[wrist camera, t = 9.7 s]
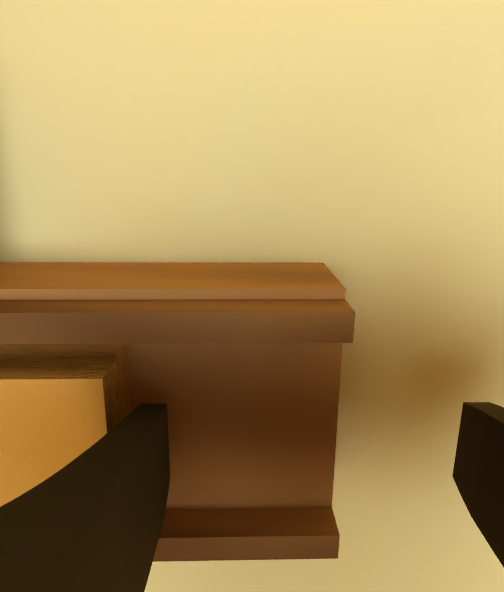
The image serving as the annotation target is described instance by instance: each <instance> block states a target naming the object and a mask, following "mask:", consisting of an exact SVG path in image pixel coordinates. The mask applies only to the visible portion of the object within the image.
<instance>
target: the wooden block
mask: <svg viewBox="0 0 504 592" xmlns="http://www.w3.org/2000/svg"><path fill="white" fill-rule="evenodd" d="M130 413H131V410H130V395H129V381H128V367H127V352H126V344H0V507H1V506H2V505H4V504H6V503H8V502H10V501H12V500H14V499H15V498H17V497H19V496H20V495H22V494H24V493H25V492H27V491H29V490H30V489H32V488H33V487H35V486H37V485H38V484H40V483H41V482H43V481H44V480H46V479H48V478H49V477H51V476H52V475H53V474H55V473H56V472H58V471H59V470H61V469H62V468H63V467H65V466H66V465H67V464H69V463H70V462H71V461H73V460H74V459H75V458H77V457H78V456H79V455H81V454H82V453H83V452H84V451H86V450H87V449H88V448H90V447H91V446H92V445H94V444H95V443H96V442H97V441H98V440H100V439H101V438H102V437H103V436H104V435H105V434H107V433H108V432H109V431H110V430H111V429H113V428H114V427H115V426H116V425H117V424H118V423H119V422H121V421H122V420H123V419H124V418H125V417H126V416H127V415H128V414H130Z"/></svg>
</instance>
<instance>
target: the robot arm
mask: <svg viewBox="0 0 504 592" xmlns="http://www.w3.org/2000/svg"><path fill="white" fill-rule="evenodd" d="M453 478H454V481H455V483H456V485H457V487H458V490H459V492H460V494H461V496H462V499H463V501H464V503H465V505H466V507H467V509H468V511H469V513H470V515H471V517H472V518H473V520H474V522H475V523H476V525H477V526H478V528H479V530H480V531H481V533H482V534H483V536H484V537H485V539H486V541H487V542H488V544H489V545H490V547H491V548H492V550H493V551H494V553H495V555H496V556H497V558H498V559H499V561H500V562H501V564H502V565H503V567H504V408H503V407H501V406H498V405H495V404H492V403H489V402H463V409H462V415H461V422H460V429H459V436H458V443H457V449H456V456H455V463H454V470H453ZM169 484H170V462H169V439H168V416H167V404H140V405H139V406H138V407H136V408H135V409H134V410H133V411H132V412H131V413H130V414H128V415H127V416H126V417H125V418H124V419H123V420H122V421H121V422H119V423H118V424H117V425H116V426H115V427H114V428H113V429H111V430H110V431H109V432H108V433H107V434H105V435H104V436H103V437H102V438H101V439H100V440H98V441H97V442H96V443H95V444H94V445H92V446H91V447H90V448H88V449H87V450H86V451H84V452H83V453H82V454H81V455H79V456H78V457H77V458H75V459H74V460H73V461H71V462H70V463H69V464H67V465H66V466H65V467H63V468H62V469H61V470H59V471H58V472H56V473H55V474H53V475H52V476H51V477H49V478H48V479H46V480H44V481H43V482H41V483H40V484H38V485H37V486H35V487H33V488H32V489H30V490H29V491H27V492H25V493H24V494H22V495H20V496H19V497H17V498H15V499H14V500H12V501H10V502H8V503H6V504H4V505H2V506H1V507H0V592H144V590H145V587H146V583H147V580H148V576H149V572H150V569H151V565H152V562H153V558H154V555H155V551H156V547H157V544H158V540H159V536H160V533H161V529H162V525H163V521H164V517H165V511H166V504H167V498H168V491H169Z"/></svg>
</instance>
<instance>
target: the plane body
mask: <svg viewBox="0 0 504 592" xmlns="http://www.w3.org/2000/svg"><path fill="white" fill-rule="evenodd" d="M354 317H355V312H354V310H353V309H352V308H351V307H350V305H349V304H348V303H347V302H346V300H345V288H344V287H343V286H342V285H341V283H340V282H339V281H338V280H337V279H336V278H335V276H334V275H333V274H332V273H331V272H330V271H329V269H328V268H327V267H326V266H325V265H324V264H323V263H0V344H126V352H127V367H128V381H129V395H130V410H131V412H132V411H133V410H134V409H135V408H136V407H138V406H139V405H140V404H167V416H168V439H169V462H170V484H169V491H168V498H167V504H166V511H165V517H164V521H163V525H162V529H161V533H160V536H159V540H158V544H157V547H156V551H155V555H154V558H153V561H210V560H269V559H328V558H338V549H339V532H338V528H337V524H336V521H335V517H334V513H333V510H332V495H333V479H334V463H335V447H336V431H337V415H338V398H339V382H340V366H341V350H342V343H353V332H354Z"/></svg>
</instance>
